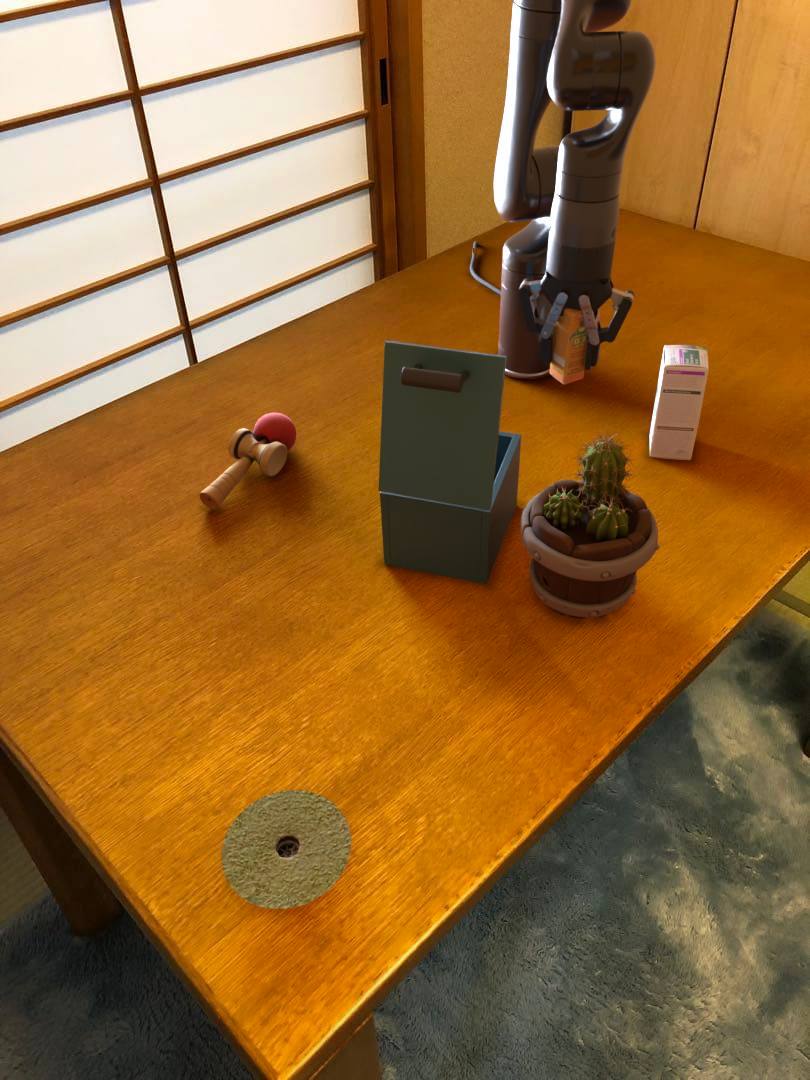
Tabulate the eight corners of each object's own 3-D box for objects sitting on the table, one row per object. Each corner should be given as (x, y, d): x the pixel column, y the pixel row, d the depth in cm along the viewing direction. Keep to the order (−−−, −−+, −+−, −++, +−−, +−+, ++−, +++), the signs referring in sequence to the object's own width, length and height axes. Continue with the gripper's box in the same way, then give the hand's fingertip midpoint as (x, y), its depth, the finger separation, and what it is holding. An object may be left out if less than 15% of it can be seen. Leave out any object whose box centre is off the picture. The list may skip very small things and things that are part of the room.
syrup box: (691, 461, 120) (712, 367, 110) (647, 457, 121) (664, 364, 111) (690, 438, 124) (709, 345, 115) (647, 434, 125) (663, 342, 116)
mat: (284, 947, 71) (281, 936, 70) (198, 863, 77) (194, 851, 76) (379, 851, 77) (378, 839, 76) (292, 779, 83) (290, 767, 82)
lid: (387, 340, 92) (369, 351, 87) (506, 355, 88) (495, 368, 84) (380, 488, 99) (363, 506, 94) (491, 508, 96) (479, 527, 91)
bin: (422, 488, 117) (421, 419, 110) (516, 504, 114) (521, 434, 107) (384, 564, 106) (379, 493, 99) (487, 585, 103) (490, 512, 96)
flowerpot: (619, 656, 94) (647, 510, 81) (492, 605, 100) (498, 462, 87) (665, 575, 103) (697, 433, 90) (546, 533, 109) (560, 395, 96)
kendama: (241, 526, 114) (315, 441, 124) (222, 490, 110) (300, 404, 120) (199, 517, 118) (273, 435, 128) (179, 481, 114) (258, 399, 124)
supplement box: (564, 386, 110) (572, 313, 103) (548, 374, 112) (555, 301, 106) (586, 379, 111) (595, 306, 104) (570, 367, 113) (578, 295, 107)
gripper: (650, 225, 100) (629, 357, 111) (527, 213, 104) (519, 342, 115) (642, 251, 95) (621, 388, 106) (513, 238, 98) (505, 371, 110)
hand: (568, 363), depth 111 cm, fingers closed on supplement box, 4 cm apart
